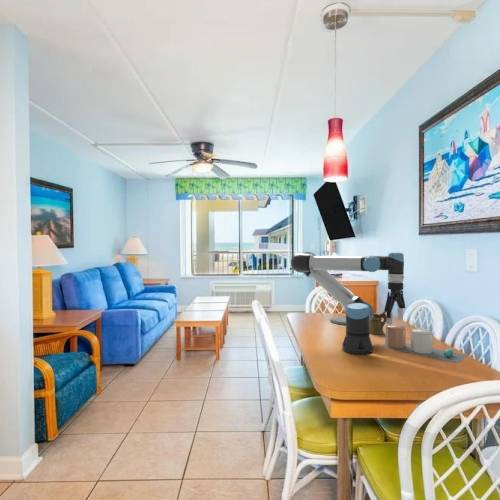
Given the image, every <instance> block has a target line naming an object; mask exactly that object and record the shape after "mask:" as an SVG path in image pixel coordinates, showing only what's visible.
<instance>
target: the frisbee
mask: <svg viewBox="0 0 500 500" xmlns="http://www.w3.org/2000/svg"><path fill="white" fill-rule="evenodd" d="M330 323H331V324H335V325H340V326H346V316H334V317H331V318H330Z"/></svg>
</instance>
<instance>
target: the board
mask: <svg viewBox="0 0 500 500" xmlns="http://www.w3.org/2000/svg"><path fill="white" fill-rule="evenodd" d="M379 347H381V348H385V349H390V350H394V351H397V352H404V353H408V354H411V355H412V354H413V355H417V356H422V357H426V358H431V359H435V360H440V361H445V362H449V363H455V364H459V363H460V362H461V361H463V359H465V358H466V357H468V355H467V354H462V353H457V352H453V355H451V356H450V357H445V356H444V351H445V350H443V349H437V348H433V352H432V353H418V352H414V351H412V350H411V343H407V342H406V346H405V347H403V348H394V347H389V346H387V345H386V343H384V344H381V345H380V346H379Z"/></svg>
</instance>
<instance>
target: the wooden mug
mask: <svg viewBox="0 0 500 500" xmlns="http://www.w3.org/2000/svg"><path fill="white" fill-rule="evenodd" d="M382 320H383V321H382ZM386 322H387V311H385V309H384V310H383V312H382V313H379V314H378V313H374V318H373V320H372V321H371V322H370V332H369V335H370V334H371V335H382V334H384V326H385V325H386Z"/></svg>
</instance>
